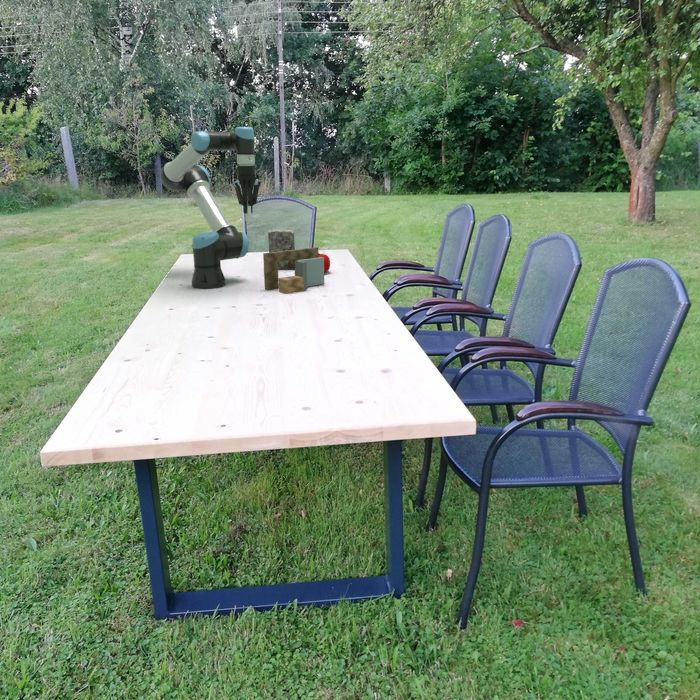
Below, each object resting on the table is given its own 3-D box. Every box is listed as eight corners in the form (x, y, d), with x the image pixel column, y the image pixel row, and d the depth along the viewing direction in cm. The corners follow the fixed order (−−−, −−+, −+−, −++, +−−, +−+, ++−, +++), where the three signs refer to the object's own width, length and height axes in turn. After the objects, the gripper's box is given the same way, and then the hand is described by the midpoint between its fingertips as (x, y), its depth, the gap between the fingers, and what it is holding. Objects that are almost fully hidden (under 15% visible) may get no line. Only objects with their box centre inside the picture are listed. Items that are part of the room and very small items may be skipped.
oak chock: (296, 288, 280) (295, 275, 278) (304, 291, 275) (303, 277, 273) (279, 291, 274) (278, 278, 273) (286, 294, 270) (286, 280, 268)
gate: (303, 290, 275) (302, 262, 272) (295, 287, 280) (294, 260, 277) (330, 285, 284) (330, 259, 281) (322, 283, 289) (321, 257, 286)
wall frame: (267, 290, 277) (265, 253, 272) (264, 289, 278) (263, 253, 273) (319, 282, 293) (318, 247, 288) (316, 281, 295) (315, 247, 290)
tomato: (336, 273, 315) (335, 252, 312) (317, 276, 306) (316, 255, 303) (320, 270, 322) (320, 250, 319) (301, 273, 314) (301, 252, 311)
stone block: (269, 270, 321) (267, 231, 315) (269, 268, 328) (268, 229, 322) (295, 270, 322) (294, 230, 316) (295, 267, 329) (294, 229, 323)
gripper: (236, 165, 263) (239, 222, 271) (263, 165, 271) (265, 220, 278) (228, 165, 269) (231, 221, 276) (255, 164, 277) (257, 219, 284)
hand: (248, 220), depth 277 cm, fingers closed
